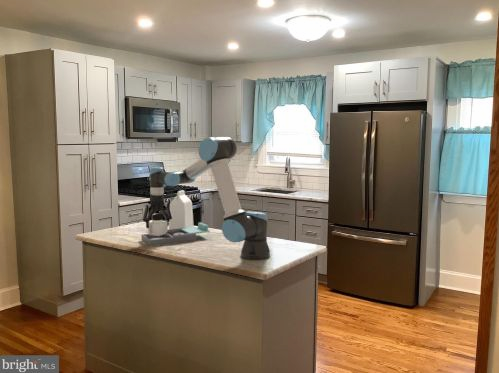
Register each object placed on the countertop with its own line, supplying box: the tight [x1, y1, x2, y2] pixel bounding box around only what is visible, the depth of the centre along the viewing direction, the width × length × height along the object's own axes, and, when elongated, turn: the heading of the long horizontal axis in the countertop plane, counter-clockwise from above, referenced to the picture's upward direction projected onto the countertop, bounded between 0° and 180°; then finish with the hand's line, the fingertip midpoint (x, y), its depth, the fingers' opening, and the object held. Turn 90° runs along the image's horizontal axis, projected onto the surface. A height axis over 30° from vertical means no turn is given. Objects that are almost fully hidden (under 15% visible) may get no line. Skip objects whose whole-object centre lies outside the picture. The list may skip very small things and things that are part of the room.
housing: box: [140, 228, 197, 248], centre depth 267 cm, size 16×28×5 cm, turn 121°
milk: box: [168, 190, 194, 230], centre depth 291 cm, size 12×12×26 cm
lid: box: [182, 221, 210, 235], centre depth 275 cm, size 12×13×4 cm
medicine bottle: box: [148, 213, 166, 236], centre depth 262 cm, size 7×7×12 cm
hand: (157, 232), depth 263 cm, fingers closed on medicine bottle, 9 cm apart
